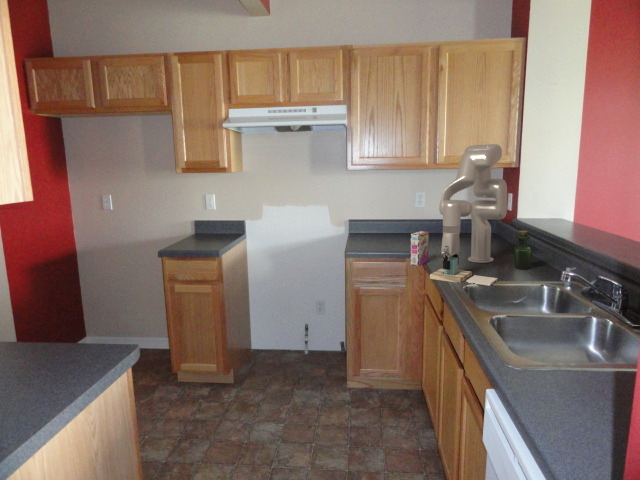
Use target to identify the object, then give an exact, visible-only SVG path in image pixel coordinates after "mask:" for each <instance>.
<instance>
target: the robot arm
mask: <svg viewBox="0 0 640 480" xmlns="http://www.w3.org/2000/svg"><path fill="white" fill-rule="evenodd" d="M502 154H503V150H502V147H501V145H499V144H496V143H494V144H489V143H488V144H475V145H474V144H473V145H469V146H467V147H465V150H464V152H463V154H462V155H461V158H460V162H459V165H458V166H459V167H458V168H457V169H458V170H457V172H456V173H457V174H456V177H455V179H454V180H452V182H450V183H449V184H448V185H447V186H446V187H445V189H444V190H443V192H442V193H441V198H440V201H439V206H438V207H439V208H438V210H439V213H440V215H442V239H441V252H440V253H441V255H442V256H441V257H442V268H443V269H447V270H450V261H449V260H450V257H457V258H458V266H459V260H460V258H459V256H460V248H461V247H460V234H461V219H462V218H465V217H466V218H467V217H469V216H470V219H471V237H470V238H471V241H470V242H471V245H470V250H471V251H470V256H468V258H467V261H469V262H471V263H476V264H477V263H480V264H481V263H484V264H486V263H491V262H493V261H494V257H491V249H492V248H491V247H492V246H491V245H492V243H491V241H492V226H491V223H490V222H489V221H488V220H503V219H505V218H506V215H507V211H508V186H507V182H506V180H504V179H502V178H492V168H493V167H494V166H495V165H496V164H497V163H498V162H499V161H500V160H501V158H502ZM470 187H473V188H472V189H473V195H474V196H475V197H476V198H486V199H478V200H474V201H472V203H471V202H470V201H468V200H464V199H462V200H459V199H451V198H452V197H453V196H454V195H455V194H457V193H459V192H460V191H461V192H462V191H463V190H465V189H468V188H470ZM487 198H488V199H487ZM489 198H492V199H493V200H490V199H489ZM494 199H495V200H494Z"/></svg>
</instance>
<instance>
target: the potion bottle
mask: <svg viewBox="0 0 640 480" xmlns="http://www.w3.org/2000/svg"><path fill="white" fill-rule="evenodd" d="M528 232H529V231H528V230H518V234H519V235H516V238H515V239H517V240H518V244H516V245H514V247H513V250H512V251H513V265H514V268H515V269H516V270H522V271H524V270H525V271H526V270H529V269H530V265H531V258H532V250H533V249H532V247H531V246H530V245H528V244H527V242H528V240H530V239H531V238H530V236H529V235H528Z"/></svg>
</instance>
